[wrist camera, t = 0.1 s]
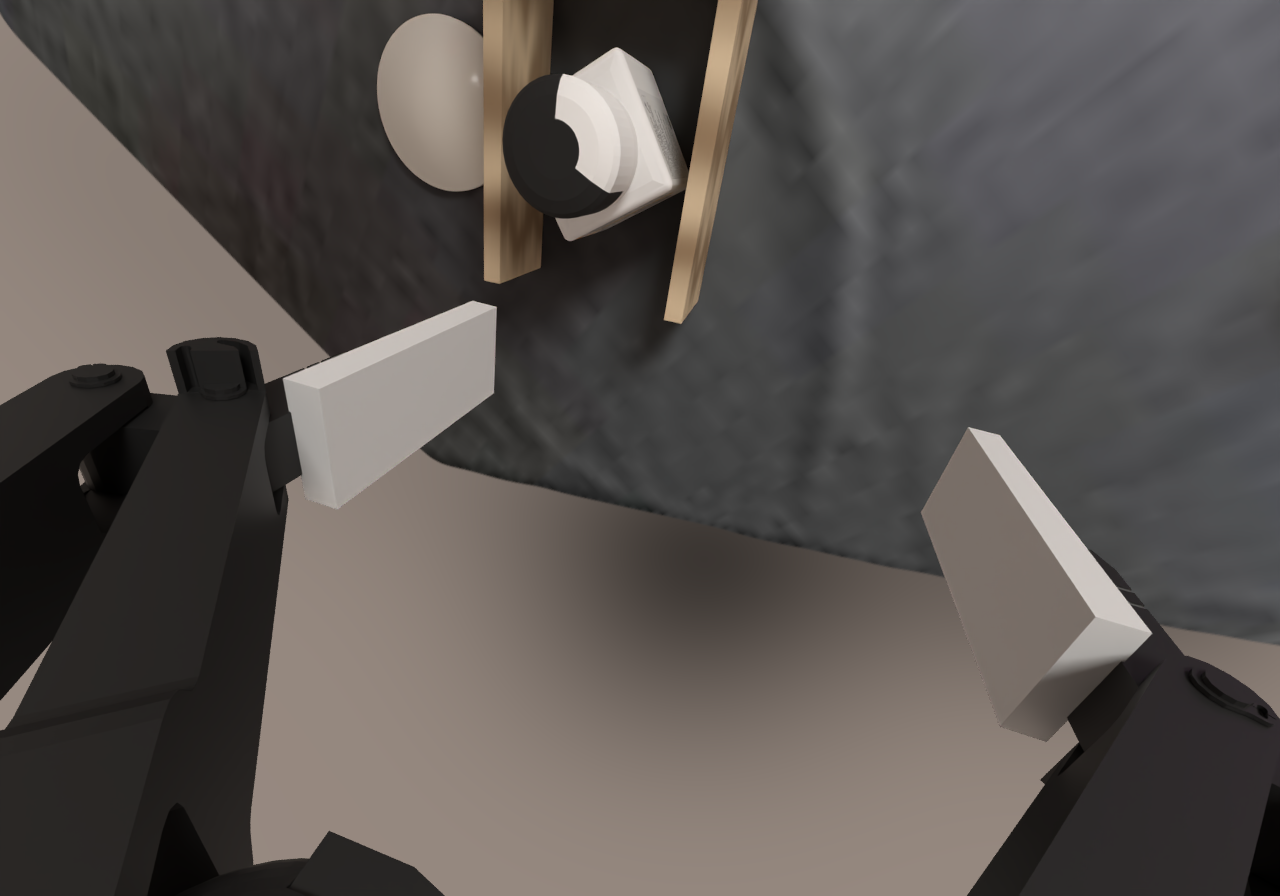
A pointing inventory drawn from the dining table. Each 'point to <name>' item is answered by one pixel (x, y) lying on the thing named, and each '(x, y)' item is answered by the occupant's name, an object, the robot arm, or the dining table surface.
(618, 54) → the container
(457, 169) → the trivet
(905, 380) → the dining table surface
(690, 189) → the tan open-ended frame
